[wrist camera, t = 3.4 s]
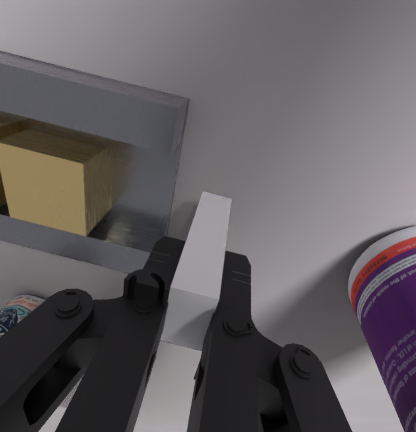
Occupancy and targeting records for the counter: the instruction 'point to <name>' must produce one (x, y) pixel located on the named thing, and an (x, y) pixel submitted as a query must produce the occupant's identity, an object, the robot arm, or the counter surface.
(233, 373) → the robot arm
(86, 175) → the block
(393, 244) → the pill bottle
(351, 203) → the counter surface
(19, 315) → the beer can
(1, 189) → the tan small block
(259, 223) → the counter surface
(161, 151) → the slot rail
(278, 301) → the counter surface
